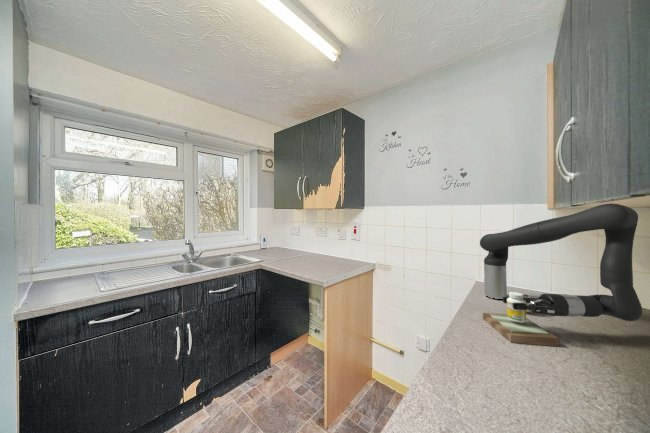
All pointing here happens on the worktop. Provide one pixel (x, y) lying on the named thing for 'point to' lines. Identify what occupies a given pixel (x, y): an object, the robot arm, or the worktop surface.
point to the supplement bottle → (512, 313)
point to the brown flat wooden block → (520, 330)
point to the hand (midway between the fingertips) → (508, 302)
